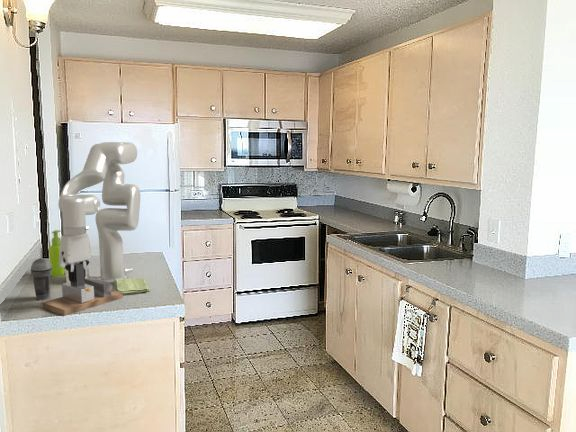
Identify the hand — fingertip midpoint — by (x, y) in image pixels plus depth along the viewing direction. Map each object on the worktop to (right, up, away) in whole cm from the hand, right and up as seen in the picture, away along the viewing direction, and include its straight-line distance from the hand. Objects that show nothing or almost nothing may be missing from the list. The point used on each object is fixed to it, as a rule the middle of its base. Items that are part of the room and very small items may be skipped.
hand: (77, 280), depth 176 cm
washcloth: (+13, -7, +21) cm, 26 cm away
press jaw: (+1, -7, +1) cm, 7 cm away
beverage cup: (-16, -8, +7) cm, 20 cm away
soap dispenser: (-27, -3, +42) cm, 50 cm away
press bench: (+1, -9, +3) cm, 9 cm away
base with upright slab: (-13, -5, +30) cm, 33 cm away
